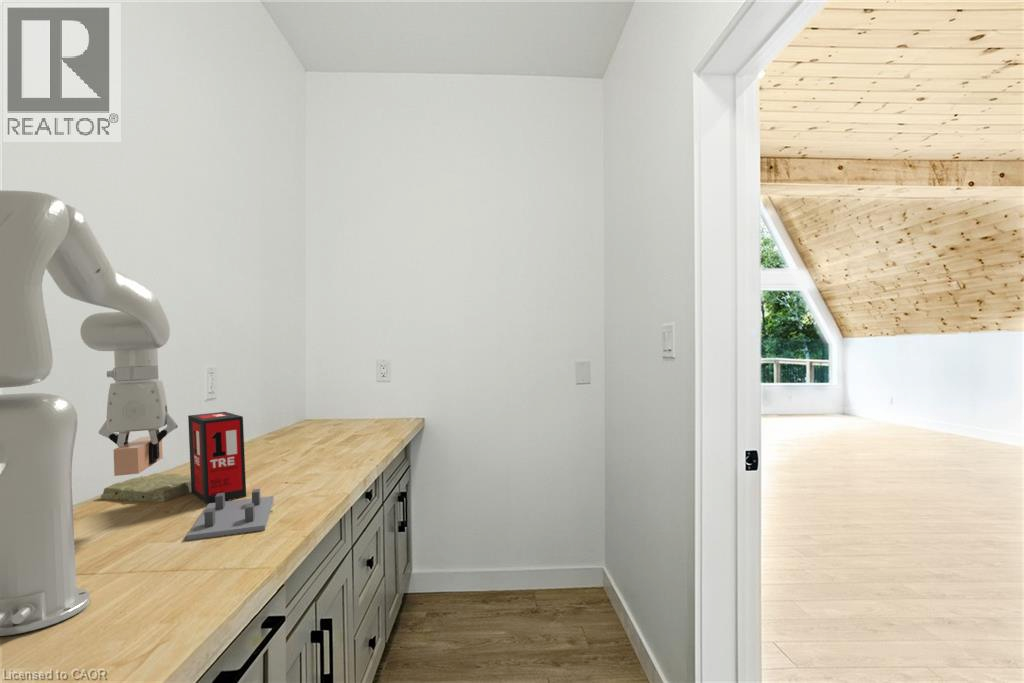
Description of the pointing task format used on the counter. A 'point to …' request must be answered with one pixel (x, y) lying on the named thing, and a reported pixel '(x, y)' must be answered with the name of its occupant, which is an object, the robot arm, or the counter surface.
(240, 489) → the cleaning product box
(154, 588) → the counter surface
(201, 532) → the grey plate with pegs
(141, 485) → the decorative tile
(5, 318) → the robot arm
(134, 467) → the clay strip
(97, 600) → the counter surface
